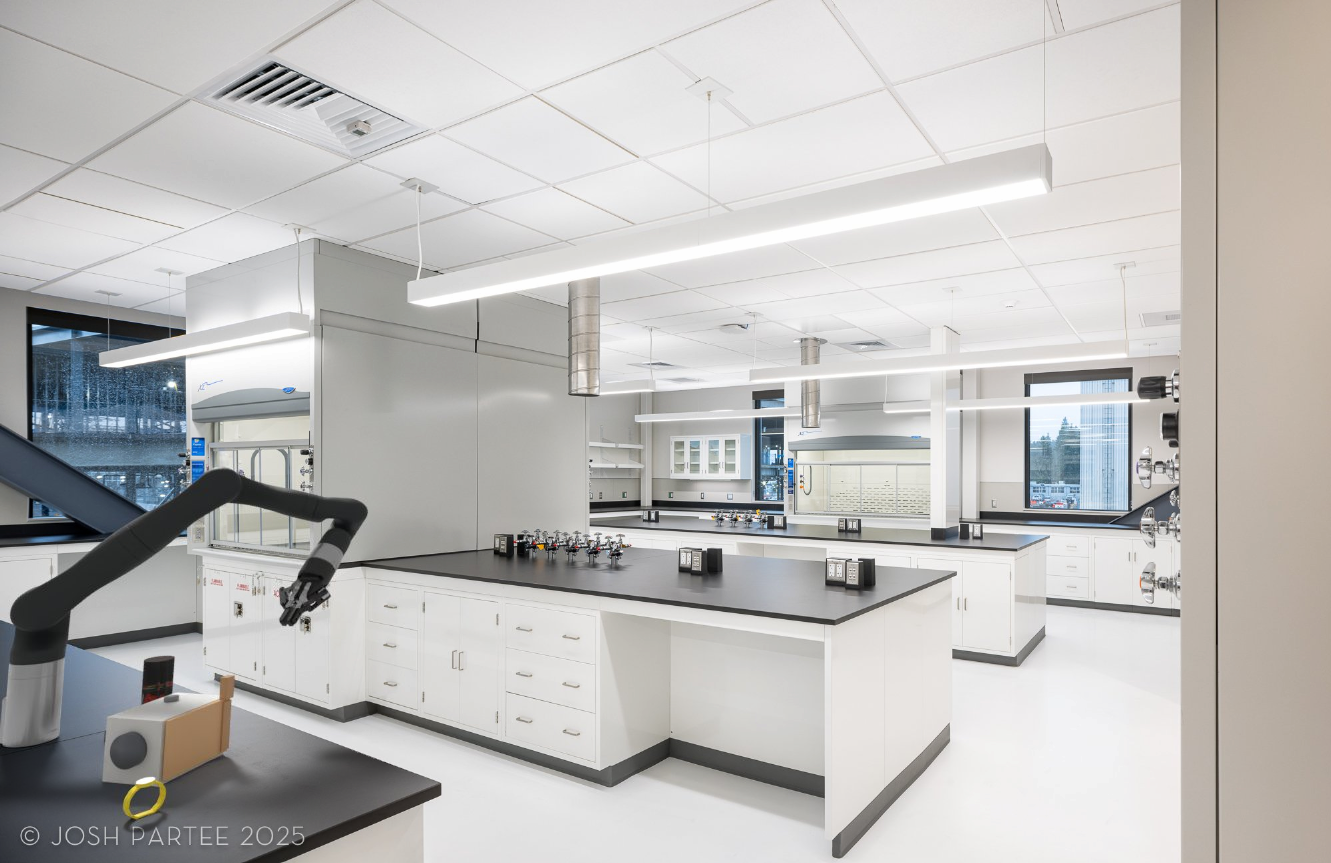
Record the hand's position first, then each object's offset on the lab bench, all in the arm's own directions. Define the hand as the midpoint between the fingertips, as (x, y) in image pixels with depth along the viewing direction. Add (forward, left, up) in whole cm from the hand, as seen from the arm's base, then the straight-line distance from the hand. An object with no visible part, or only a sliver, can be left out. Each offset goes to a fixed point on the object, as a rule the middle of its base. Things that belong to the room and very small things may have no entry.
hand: (285, 624), depth 165 cm
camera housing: (-7, -24, -24) cm, 35 cm away
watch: (+6, -42, -24) cm, 49 cm away
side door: (0, -24, -23) cm, 33 cm away
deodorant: (-30, -3, -24) cm, 39 cm away
